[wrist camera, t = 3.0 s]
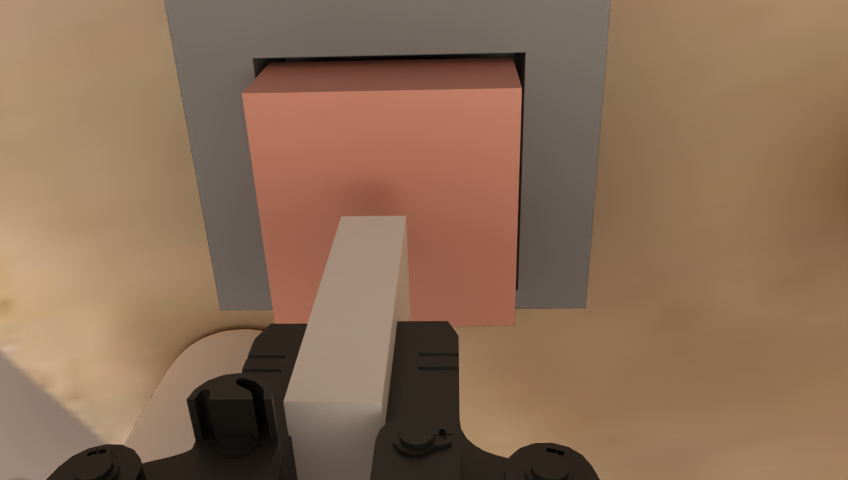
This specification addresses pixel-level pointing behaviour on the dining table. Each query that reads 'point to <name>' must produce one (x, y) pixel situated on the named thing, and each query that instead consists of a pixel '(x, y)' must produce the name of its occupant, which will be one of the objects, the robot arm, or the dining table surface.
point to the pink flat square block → (391, 176)
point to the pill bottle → (186, 393)
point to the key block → (402, 40)
